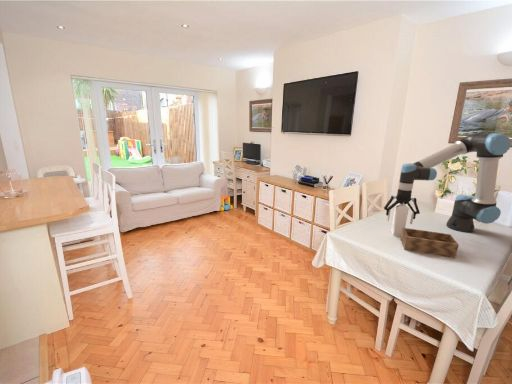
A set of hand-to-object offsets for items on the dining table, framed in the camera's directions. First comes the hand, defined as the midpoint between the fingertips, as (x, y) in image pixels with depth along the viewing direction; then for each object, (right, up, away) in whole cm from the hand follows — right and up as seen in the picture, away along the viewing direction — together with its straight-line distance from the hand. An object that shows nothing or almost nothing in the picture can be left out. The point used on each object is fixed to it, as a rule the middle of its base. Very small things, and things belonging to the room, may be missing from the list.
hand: (399, 222), depth 161 cm
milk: (0, -8, +2) cm, 9 cm away
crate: (+6, -13, -16) cm, 22 cm away
